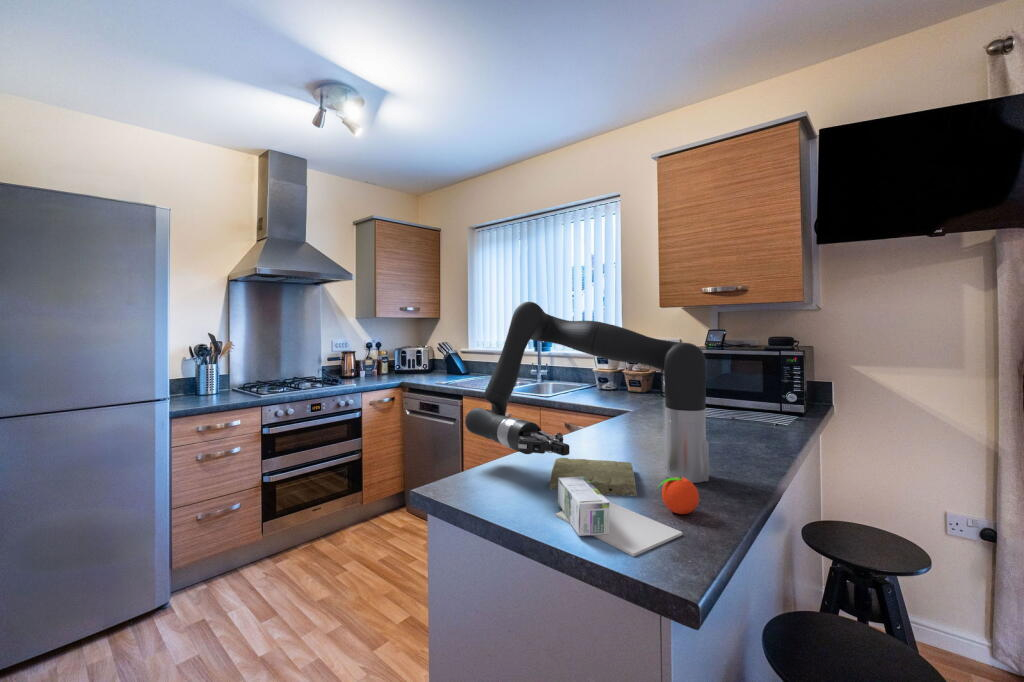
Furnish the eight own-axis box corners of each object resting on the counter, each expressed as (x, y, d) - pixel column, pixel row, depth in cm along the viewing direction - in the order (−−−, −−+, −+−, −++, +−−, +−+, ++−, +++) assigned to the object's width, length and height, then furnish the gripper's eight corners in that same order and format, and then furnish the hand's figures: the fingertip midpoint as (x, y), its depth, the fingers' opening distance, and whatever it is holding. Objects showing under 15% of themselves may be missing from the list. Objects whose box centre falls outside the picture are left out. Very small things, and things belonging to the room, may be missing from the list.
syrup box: (583, 503, 89) (611, 534, 75) (556, 504, 88) (579, 537, 74) (584, 475, 89) (611, 501, 75) (556, 477, 88) (579, 504, 74)
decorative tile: (555, 468, 116) (555, 455, 116) (632, 472, 111) (632, 459, 111) (546, 493, 97) (546, 477, 97) (638, 499, 93) (638, 483, 93)
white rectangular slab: (555, 515, 84) (555, 513, 84) (602, 501, 91) (602, 498, 91) (633, 556, 68) (633, 553, 68) (682, 535, 75) (682, 532, 75)
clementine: (663, 520, 82) (663, 483, 81) (651, 506, 88) (651, 471, 88) (705, 520, 82) (705, 482, 81) (690, 505, 88) (690, 471, 88)
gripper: (496, 422, 101) (542, 436, 86) (540, 416, 108) (589, 428, 94) (496, 454, 101) (542, 474, 87) (540, 446, 108) (589, 462, 94)
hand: (566, 450), depth 90 cm, fingers closed
